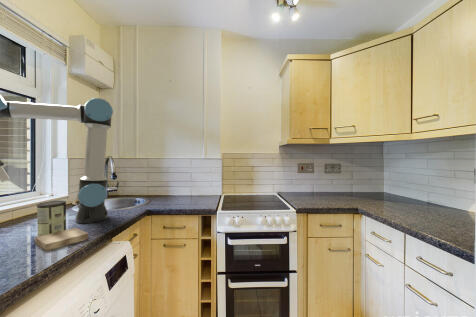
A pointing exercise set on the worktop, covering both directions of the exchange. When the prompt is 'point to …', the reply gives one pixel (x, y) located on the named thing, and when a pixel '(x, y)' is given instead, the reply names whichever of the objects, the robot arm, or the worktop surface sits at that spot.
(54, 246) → the chopping board
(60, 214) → the coffee can
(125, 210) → the worktop surface
